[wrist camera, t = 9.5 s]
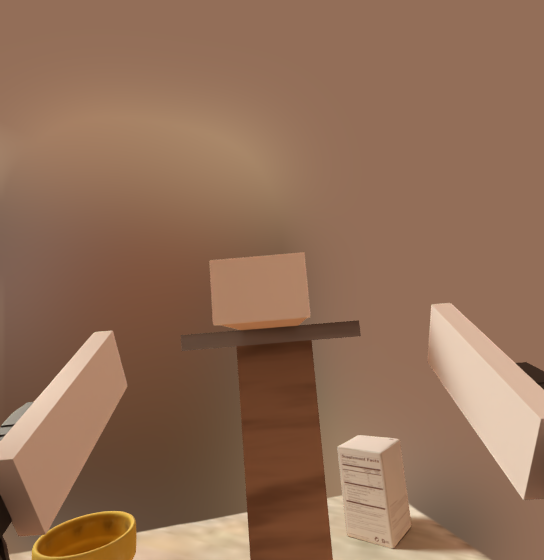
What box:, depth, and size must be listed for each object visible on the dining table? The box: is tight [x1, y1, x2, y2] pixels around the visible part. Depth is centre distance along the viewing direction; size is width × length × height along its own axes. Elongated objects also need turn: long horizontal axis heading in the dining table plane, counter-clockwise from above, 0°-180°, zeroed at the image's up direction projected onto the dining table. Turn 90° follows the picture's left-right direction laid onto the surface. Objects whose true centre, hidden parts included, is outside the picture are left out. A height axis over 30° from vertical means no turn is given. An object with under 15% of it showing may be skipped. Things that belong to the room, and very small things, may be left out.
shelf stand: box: [181, 321, 360, 560], centre depth 39 cm, size 24×14×30 cm, turn 179°
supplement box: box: [337, 435, 412, 548], centre depth 57 cm, size 7×7×13 cm
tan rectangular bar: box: [210, 252, 310, 330], centre depth 35 cm, size 34×5×3 cm, turn 179°
